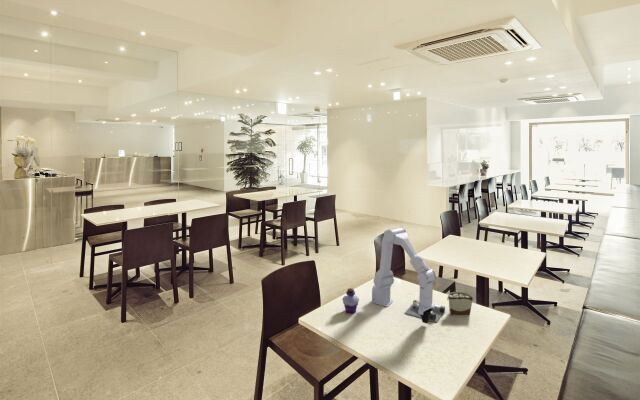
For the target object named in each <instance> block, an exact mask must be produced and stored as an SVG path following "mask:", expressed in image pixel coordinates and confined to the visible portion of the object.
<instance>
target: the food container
mask: <svg viewBox="0 0 640 400" xmlns="http://www.w3.org/2000/svg"><path fill="white" fill-rule="evenodd" d="M447 301H448V307H449V316H456V317H458V316H461V317H464V316H466V317H470V315H471V310H472V306H473V305H472V304H473V302H474V297H473V295H471V294H469V293H466V292H463V291H452V292H449V293H448V294H447Z"/></svg>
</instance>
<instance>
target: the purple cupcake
mask: <svg viewBox="0 0 640 400" xmlns="http://www.w3.org/2000/svg"><path fill="white" fill-rule="evenodd" d="M345 294H346V295H344V296H343V297H342V299H341V300H342V303H343V306H344V310H345V313H346V314H349V315H353V314H356V313H357V307H358V305H359V301H360V298H359V297H358V296H357V295H356V292H355V289H354V288H351V287H349V288H347V290H346V293H345Z"/></svg>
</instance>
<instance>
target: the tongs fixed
mask: <svg viewBox="0 0 640 400" xmlns="http://www.w3.org/2000/svg"><path fill="white" fill-rule="evenodd" d="M415 300H416V301H418V303H419V299H415ZM432 304H433V305H435V307H434V308H433V309H432V310H434V311H438V312H441V313H443V314H445V313H446V306H445V305H444V306H443V305H440V304H439V305H438V304H434V303H432Z"/></svg>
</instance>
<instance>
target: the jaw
mask: <svg viewBox="0 0 640 400" xmlns="http://www.w3.org/2000/svg"><path fill="white" fill-rule="evenodd" d="M416 300H417V299H414V300H413V301H412V304H413V308H416V309H417V310H418V308H419V303H418V301H416ZM429 318H431V319H432V320H434V319H436V314H435V313H434V312H432V311H431V313H430V316H429Z"/></svg>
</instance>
